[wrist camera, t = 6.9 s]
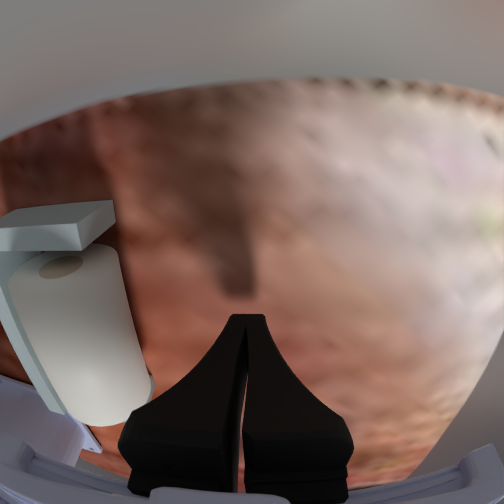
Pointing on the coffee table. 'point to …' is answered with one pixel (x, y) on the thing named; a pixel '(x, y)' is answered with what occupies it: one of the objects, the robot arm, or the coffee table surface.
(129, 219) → the coffee table surface
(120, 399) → the roll
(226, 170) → the coffee table surface
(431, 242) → the coffee table surface
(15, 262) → the holder
